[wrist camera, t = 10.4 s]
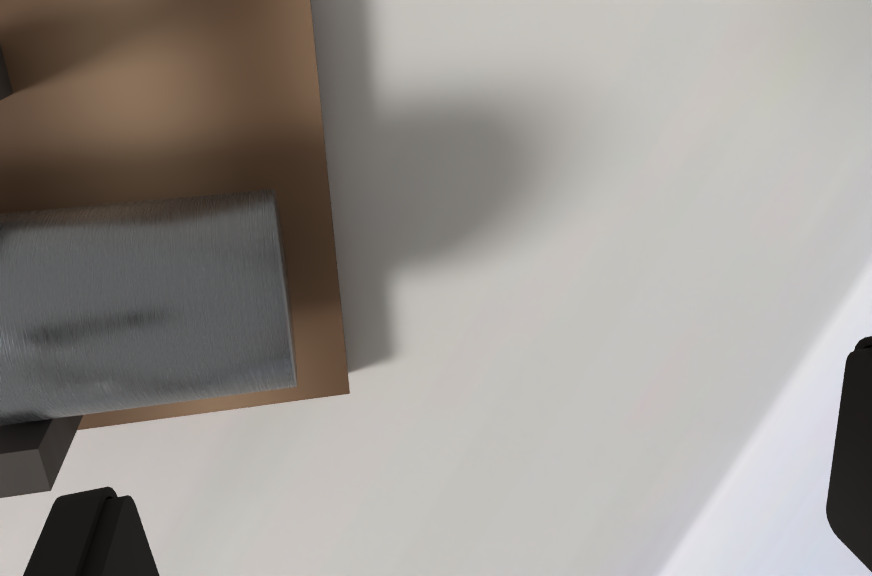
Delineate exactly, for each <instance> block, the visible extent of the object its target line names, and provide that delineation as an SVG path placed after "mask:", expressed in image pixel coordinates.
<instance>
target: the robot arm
mask: <svg viewBox="0 0 872 576" xmlns="http://www.w3.org/2000/svg"><path fill="white" fill-rule="evenodd" d="M826 514H827V519H828V522H829V524H830V527H831V528H832V530H833V532H834V533H835V534H836V536H837V537H838V538H839V539H840V540H841V541H842V542H843V543H844V544H845V545H846V546H847V547H848V548H849V549H850V550H851V551H852V552H853V553H854V554H855V555H856V556H857V557H858V559H859V560H860V561H861V562H862V563H863V564H864V565H865V566H866V567H867V568H868V569H869V570H870V571H871V572H872V336H870V337H865V338H863V339H862V340H860V341H859V342H858V344H857V345H856V346H855V350H854V351H853V352H851V353H850V354H849V355H848V357H847V360H846V365H845V372H844V380H843V387H842V394H841V402H840V409H839V417H838V424H837V431H836V439H835V446H834V454H833V461H832V468H831V476H830V483H829V491H828V498H827V505H826ZM23 576H159V573H158V570H157V567H156V564H155V561H154V558H153V556H152V553H151V550H150V547H149V544H148V541H147V538H146V535H145V532H144V529H143V526H142V523H141V520H140V517H139V514H138V511H137V508H136V505H135V503H134V500H133V499H132V497H131V496H128V495H127V496H122V497H117V495H116V492H115V491H114V490H113V489H112V488H110V487H104V488H99V489H94V490H89V491H84V492H79V493H74V494H68V495H63V496H60V497H58V498H57V499H56V501H55V502H54V504H53V506H52V508H51V511H50V513H49V515H48V518H47V520H46V523H45V525H44V527H43V530H42V532H41V534H40V537H39V539H38V541H37V544H36V546H35V549H34V551H33V553H32V556H31V558H30V560H29V563H28V565H27V567H26V570H25V572H24V575H23Z"/></svg>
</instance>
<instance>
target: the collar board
mask: <svg viewBox="0 0 872 576" xmlns="http://www.w3.org/2000/svg"><path fill="white" fill-rule="evenodd" d="M268 189H274V190H275V193H276V197H277V202H278V208H279V214H280V220H281V227H282V234H283V241H284V249H285V257H286V265H287V273H288V281H289V290H290V299H291V308H292V317H293V327H294V338H295V349H296V362H297V387H291V388H283V389H275V390H268V391H260V392H252V393H245V394H237V395H230V396H222V397H214V398H207V399H199V400H191V401H184V402H176V403H169V404H161V405H153V406H146V407H138V408H130V409H123V410H115V411H108V412H100V413H92V414H85V415H77V416H70V417H62V418H54V419H47V420H39V421H31V422H24V423H16V424H9V425H1V426H0V498H4V497H11V496H17V495H24V494H31V493H38V492H45V491H51V489H52V487H53V484H54V482H55V480H56V477H57V475H58V473H59V470H60V468H61V466H62V463H63V461H64V459H65V456H66V454H67V452H68V450H69V447H70V445H71V443H72V440H73V438H74V436H75V433H76V431H77V430H81V429H89V428H96V427H104V426H111V425H119V424H126V423H133V422H141V421H148V420H156V419H163V418H171V417H178V416H186V415H193V414H201V413H208V412H216V411H223V410H231V409H238V408H246V407H253V406H260V405H268V404H275V403H283V402H290V401H298V400H305V399H313V398H320V397H328V396H335V395H343V394H350V391H349V381H348V371H347V361H346V351H345V341H344V331H343V322H342V312H341V302H340V292H339V282H338V272H337V262H336V252H335V242H334V232H333V222H332V212H331V202H330V192H329V182H328V172H327V162H326V152H325V142H324V132H323V122H322V113H321V103H320V93H319V83H318V73H317V63H316V53H315V43H314V33H313V23H312V13H311V3H310V0H0V214H2V213H13V212H25V211H36V210H47V209H58V208H69V207H80V206H91V205H102V204H113V203H124V202H135V201H146V200H157V199H169V198H180V197H191V196H202V195H213V194H224V193H235V192H246V191H257V190H268Z"/></svg>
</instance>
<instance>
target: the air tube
mask: <svg viewBox="0 0 872 576" xmlns="http://www.w3.org/2000/svg"><path fill="white" fill-rule="evenodd" d="M291 387H297V362H296V349H295V338H294V327H293V317H292V308H291V299H290V290H289V281H288V273H287V265H286V257H285V249H284V241H283V234H282V227H281V220H280V214H279V208H278V202H277V197H276V193H275V190H274V189H268V190H257V191H246V192H235V193H224V194H213V195H202V196H191V197H180V198H169V199H157V200H146V201H135V202H124V203H113V204H102V205H91V206H80V207H69V208H58V209H47V210H36V211H25V212H13V213H2V214H0V426H1V425H9V424H16V423H24V422H31V421H39V420H47V419H54V418H62V417H70V416H77V415H85V414H92V413H100V412H108V411H115V410H123V409H130V408H138V407H146V406H153V405H161V404H169V403H176V402H184V401H191V400H199V399H207V398H214V397H222V396H230V395H237V394H245V393H252V392H260V391H268V390H275V389H283V388H291Z"/></svg>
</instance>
